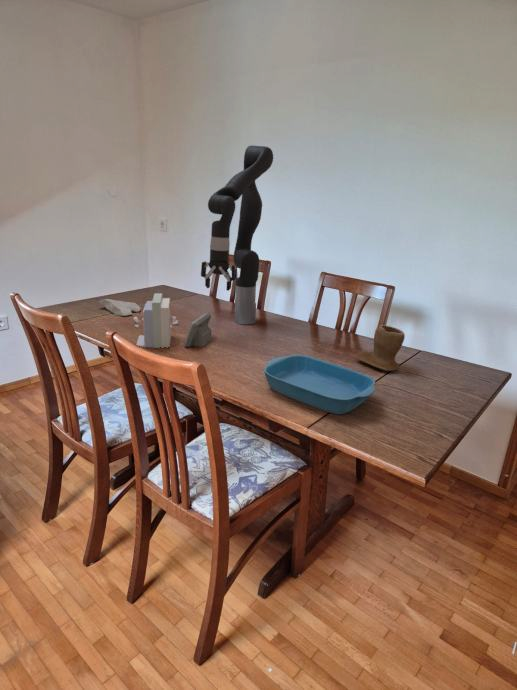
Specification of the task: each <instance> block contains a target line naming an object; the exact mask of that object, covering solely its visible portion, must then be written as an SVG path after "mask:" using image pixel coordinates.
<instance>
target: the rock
mask: <svg viewBox="0 0 517 690" xmlns="http://www.w3.org/2000/svg"><path fill="white" fill-rule="evenodd" d="M97 303H99V304H100V305H101V306H103V307H104V308H105V309H106V310H107V311H109V312H111V313H113V315H117V316H119V317H120V316H121V317H126V316H132V315H133V312H135V313H139V312H140V311H141V306H140V305H138V304H137V303H136V302H130V301H123V300H114V299H110V298H105V299H101V300H98V301H97Z"/></svg>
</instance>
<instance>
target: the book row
mask: <svg viewBox="0 0 517 690" xmlns="http://www.w3.org/2000/svg"><path fill="white" fill-rule="evenodd" d="M142 318H143V320H142V321H143V323H142V324H143V325H142V326H143V329H144V330H143V334H140V335H139V336H138V338H137V342H136V344H135V346H136V345H138V346H140V347H139V348H147V347H148V348H154V349H161V348H162V349H165V348H164V347H166V349H167V348H168V347H170V348H171V339H172V329H171V325H172V322H171V320H172V319H171V318H172V317H171V298H170V297H166V298H165V297H163V293H161V292H160V293H158V292H157V293H154V294H153V298H152V300H147V301H146V303H144V307H143V311H142ZM160 347H161V348H160ZM168 349H169V348H168Z"/></svg>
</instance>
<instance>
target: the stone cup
mask: <svg viewBox="0 0 517 690" xmlns="http://www.w3.org/2000/svg"><path fill="white" fill-rule="evenodd" d="M405 337H406V336H405V332H403V330H401V329H399V328H396V327H394V326H390V325H385V324H380V325H379V326H377V328H376V329H375V332H374V336H373V351H363V350H362V351H360V352H358V353H356V354H355V355H354V358H355V360H358V361H360V362H362V363H364V364H366V365H369V366H371V367H374V368H377V369H379V370H383V371H385V372H393V371H396V370H398V369H399V368H400V364H399V363H398V362H396V357H397V355H398V352H399V351H400V349H401V347H402V346H403V343H404V341H405Z"/></svg>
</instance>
